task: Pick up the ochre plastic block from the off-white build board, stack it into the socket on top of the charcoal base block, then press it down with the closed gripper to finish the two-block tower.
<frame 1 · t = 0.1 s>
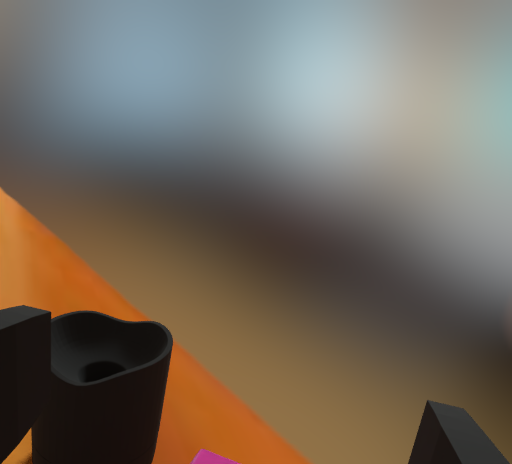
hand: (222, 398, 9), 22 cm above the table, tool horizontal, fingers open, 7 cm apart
pen holder: (95, 459, 36), on the table
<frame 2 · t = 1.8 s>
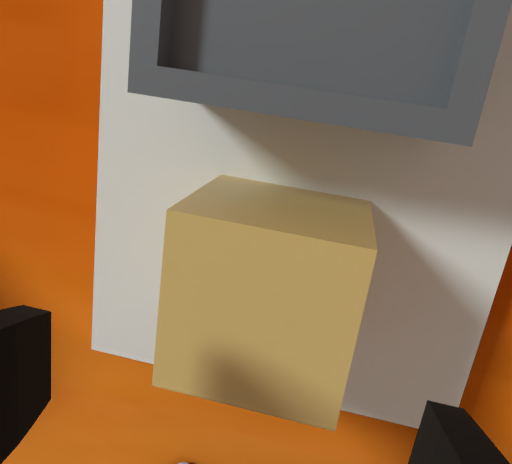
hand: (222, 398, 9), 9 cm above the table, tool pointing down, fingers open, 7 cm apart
ochre block: (282, 257, 16), point 1 cm above the table, touching build board
build board: (307, 123, 16), on the table
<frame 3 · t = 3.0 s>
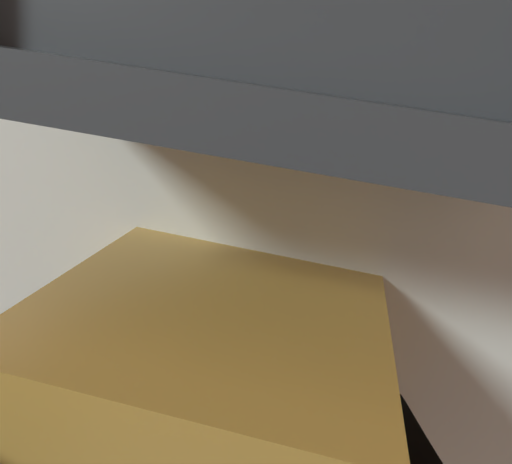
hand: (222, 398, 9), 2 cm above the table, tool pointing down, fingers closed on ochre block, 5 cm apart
ochre block: (239, 358, 10), point 1 cm above the table, touching build board, gripper
build board: (278, 144, 10), on the table
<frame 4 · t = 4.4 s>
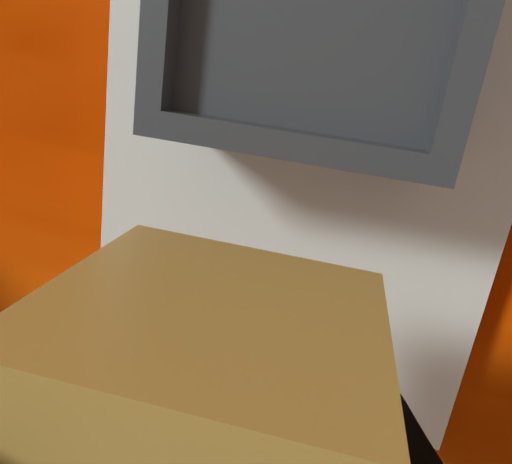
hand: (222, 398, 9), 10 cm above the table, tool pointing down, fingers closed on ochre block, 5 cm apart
ochre block: (239, 355, 10), point 8 cm above the table, touching gripper
charcoal base block: (326, 15, 15), resting on build board
build board: (303, 153, 17), on the table
when the fingers open (6 cm above the table, at t = 6.2 s): ochre block stays where it is, resting on charcoal base block.
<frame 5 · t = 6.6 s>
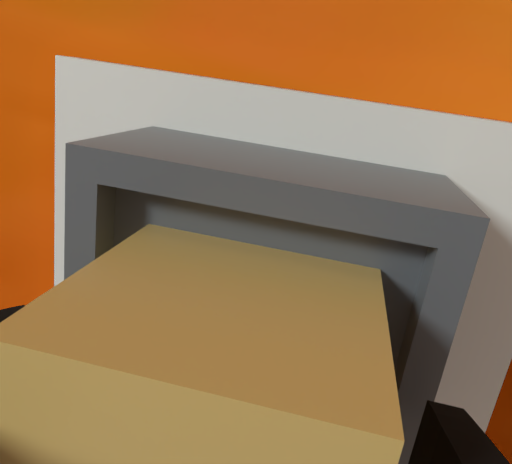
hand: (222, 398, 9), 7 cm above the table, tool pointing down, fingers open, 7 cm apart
ochre block: (245, 348, 11), point 4 cm above the table, touching charcoal base block
charcoal base block: (276, 271, 15), resting on build board
build board: (256, 391, 16), on the table
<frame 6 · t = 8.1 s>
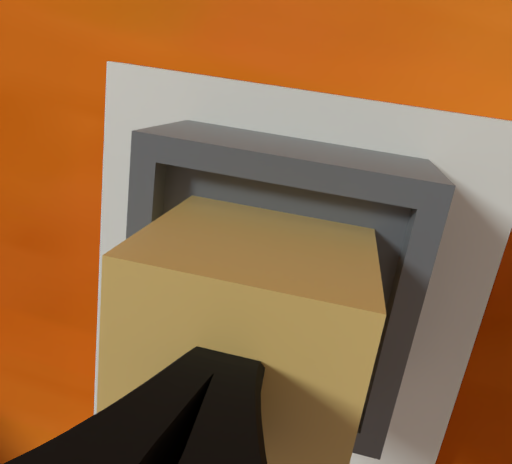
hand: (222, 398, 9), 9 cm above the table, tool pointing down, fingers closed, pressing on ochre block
ochre block: (267, 295, 14), point 4 cm above the table, touching charcoal base block, gripper
charcoal base block: (288, 243, 18), resting on build board
build board: (270, 347, 19), on the table
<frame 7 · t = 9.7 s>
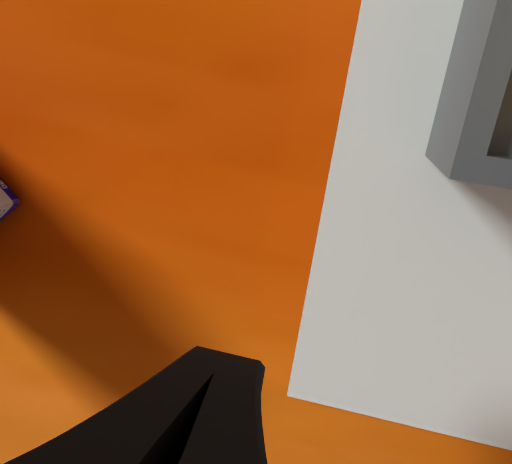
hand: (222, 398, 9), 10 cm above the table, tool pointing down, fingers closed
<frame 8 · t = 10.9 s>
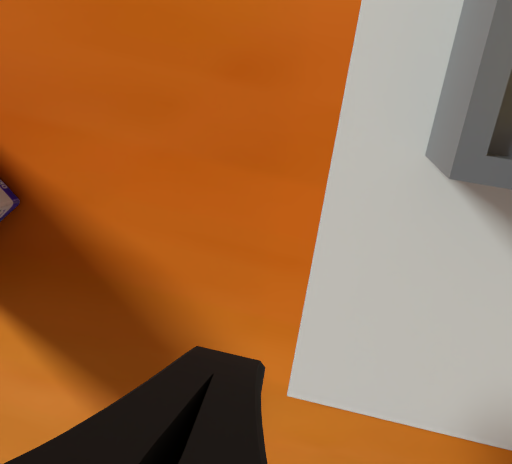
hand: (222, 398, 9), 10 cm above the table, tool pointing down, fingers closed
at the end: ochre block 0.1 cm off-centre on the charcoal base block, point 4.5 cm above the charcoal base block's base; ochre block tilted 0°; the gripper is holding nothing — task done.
